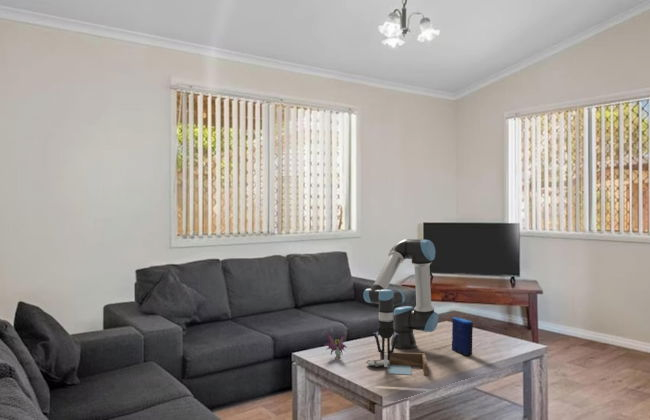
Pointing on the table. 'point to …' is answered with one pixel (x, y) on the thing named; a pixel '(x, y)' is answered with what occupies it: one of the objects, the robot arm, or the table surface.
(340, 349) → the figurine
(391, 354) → the corner walls
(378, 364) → the stone
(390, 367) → the mat
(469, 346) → the book
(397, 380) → the table surface
